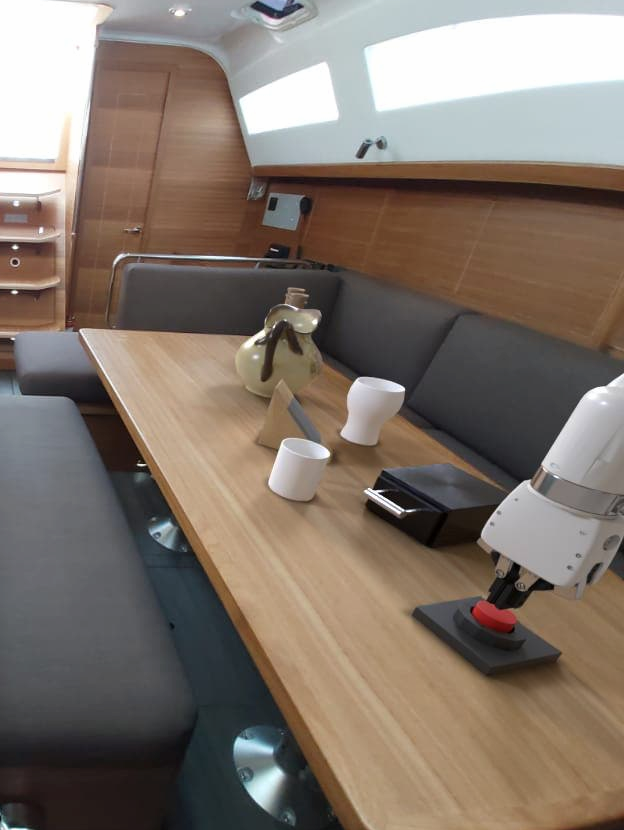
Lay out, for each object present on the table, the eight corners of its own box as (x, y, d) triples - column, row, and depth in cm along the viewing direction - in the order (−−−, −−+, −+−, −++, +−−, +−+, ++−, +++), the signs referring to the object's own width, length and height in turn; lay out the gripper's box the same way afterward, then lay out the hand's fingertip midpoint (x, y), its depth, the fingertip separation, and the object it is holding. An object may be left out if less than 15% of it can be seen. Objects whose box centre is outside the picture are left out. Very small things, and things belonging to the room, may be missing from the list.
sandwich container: (331, 467, 111) (355, 407, 105) (256, 445, 119) (274, 388, 113) (334, 453, 117) (357, 395, 111) (263, 433, 126) (281, 377, 119)
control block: (473, 606, 75) (486, 586, 73) (553, 664, 66) (570, 643, 64) (409, 617, 73) (421, 597, 71) (484, 678, 64) (499, 657, 62)
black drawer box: (429, 550, 86) (452, 509, 83) (365, 507, 98) (382, 469, 94) (499, 541, 90) (524, 500, 86) (429, 499, 101) (448, 462, 97)
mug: (265, 468, 110) (279, 427, 105) (308, 478, 107) (324, 436, 102) (268, 496, 100) (283, 452, 95) (315, 508, 97) (333, 462, 92)
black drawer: (399, 548, 85) (416, 515, 82) (343, 508, 96) (356, 477, 92) (488, 536, 89) (507, 504, 86) (424, 498, 99) (439, 469, 96)
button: (486, 608, 70) (492, 598, 69) (518, 631, 66) (525, 621, 66) (464, 611, 69) (469, 602, 68) (495, 635, 66) (502, 625, 65)
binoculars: (259, 352, 187) (279, 285, 177) (289, 356, 184) (311, 288, 173) (262, 368, 170) (283, 295, 160) (295, 373, 167) (319, 299, 156)
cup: (359, 452, 118) (383, 394, 112) (322, 431, 128) (342, 377, 121) (394, 448, 121) (420, 391, 114) (355, 428, 130) (377, 375, 123)
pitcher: (286, 380, 161) (310, 303, 150) (329, 411, 139) (362, 324, 129) (216, 377, 161) (236, 300, 150) (249, 407, 140) (275, 320, 129)
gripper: (691, 527, 53) (592, 647, 61) (527, 456, 66) (463, 562, 74) (641, 534, 51) (546, 656, 59) (484, 460, 64) (423, 568, 72)
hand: (500, 604), depth 66 cm, fingers closed
